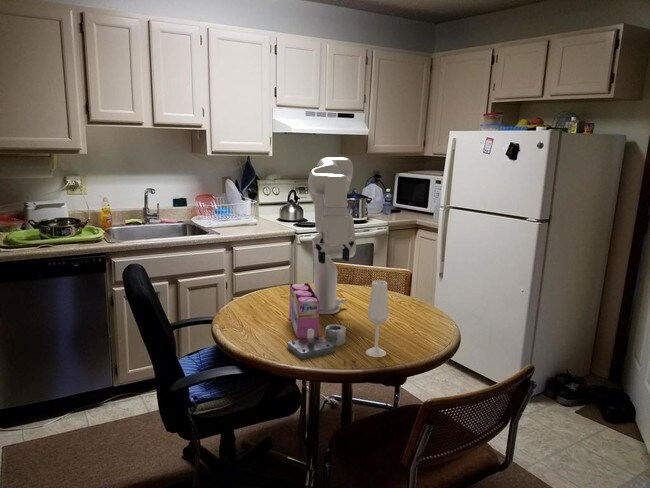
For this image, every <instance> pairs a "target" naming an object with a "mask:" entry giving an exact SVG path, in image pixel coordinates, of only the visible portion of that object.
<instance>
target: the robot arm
mask: <svg viewBox="0 0 650 488" xmlns="http://www.w3.org/2000/svg"><path fill="white" fill-rule="evenodd" d="M353 174H354V165H353V162H352V161H351V159H350V158H348V157H330V156H328V157H324V158H321V159H319V161H318V162H317V164H316V167H315V168H313V169H312V170H311V171H310V172H309V175H308V179H307V181H308V183H307V184H308V191H309V195H310V197H311V200H312V201H311V202H312V203H313V206H314V225H315V230H316V232H317V233H318V234H317V235H316V236H315V237H312V238H311V242H312V243H311V244H312V245H311V247H312V255H313V292H314V293H315V295H316V296H317V298H318V299H319V302H320V308H319V315H333V314H337V313H338V312H339V311H340V310H341V307H340V304H346V303H347V299H346V298H340V297H337V294H338V293H337V288H338V267H337V265H336V264H335V262H334V261H333V260H332V259H342V260H343V261H345V262H349V260H350V258H353V257H354V256H355V254H356V252H357V243H356V242H357V240H356V239H357V236H356V233H355V222H354V218H353V216H352V214H351V213H349V212H350V209H349V208H348V207H347V205H348V203H347V201H348V192H349V191H350V187H351V183H352V179H353V176H354V175H353Z"/></svg>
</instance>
